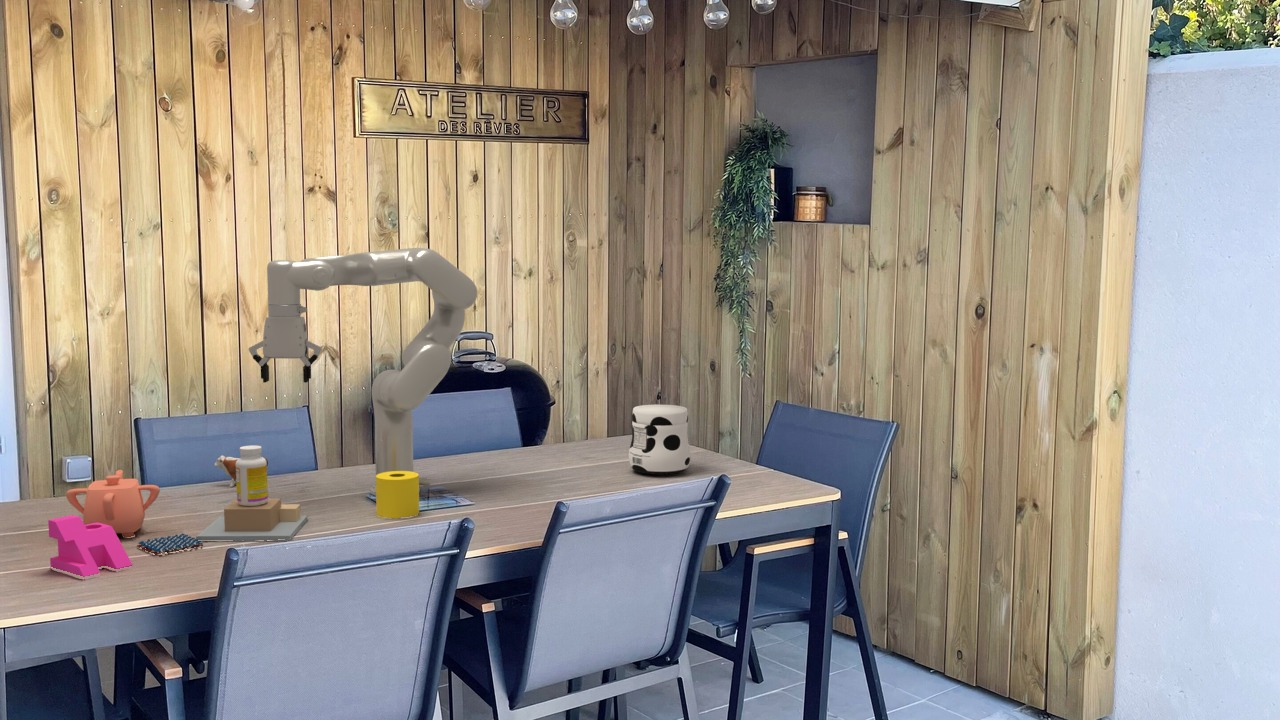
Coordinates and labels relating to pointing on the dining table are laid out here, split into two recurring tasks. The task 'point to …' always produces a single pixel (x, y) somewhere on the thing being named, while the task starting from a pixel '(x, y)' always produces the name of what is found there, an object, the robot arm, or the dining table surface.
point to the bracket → (85, 546)
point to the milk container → (659, 439)
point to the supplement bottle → (251, 477)
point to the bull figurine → (229, 467)
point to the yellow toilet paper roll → (397, 494)
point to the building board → (251, 535)
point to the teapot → (114, 503)
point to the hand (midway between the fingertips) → (286, 381)
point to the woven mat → (169, 544)
